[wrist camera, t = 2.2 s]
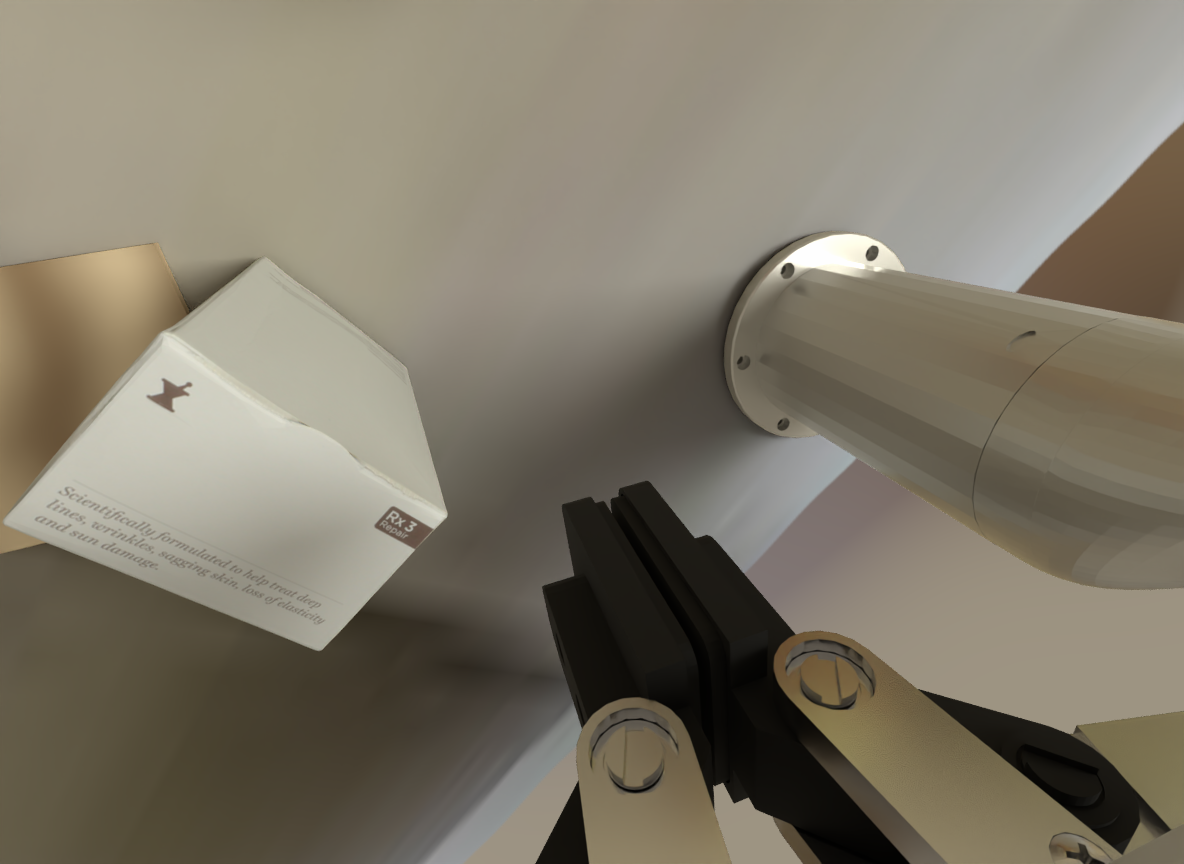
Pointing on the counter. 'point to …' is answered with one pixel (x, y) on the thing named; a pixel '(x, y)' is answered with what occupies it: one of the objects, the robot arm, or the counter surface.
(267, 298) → the skincare box
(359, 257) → the counter surface
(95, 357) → the brass plate
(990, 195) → the counter surface
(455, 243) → the counter surface
